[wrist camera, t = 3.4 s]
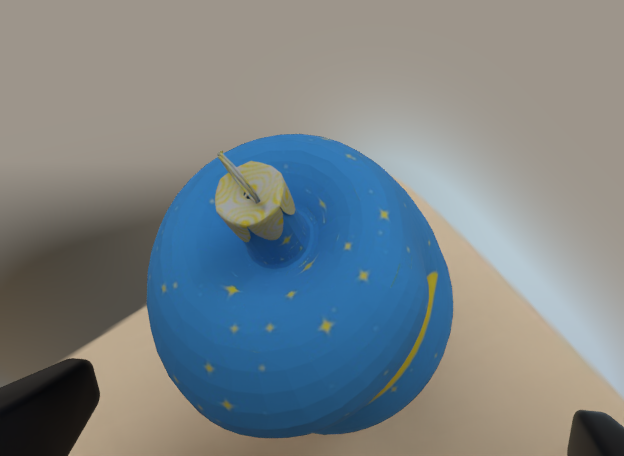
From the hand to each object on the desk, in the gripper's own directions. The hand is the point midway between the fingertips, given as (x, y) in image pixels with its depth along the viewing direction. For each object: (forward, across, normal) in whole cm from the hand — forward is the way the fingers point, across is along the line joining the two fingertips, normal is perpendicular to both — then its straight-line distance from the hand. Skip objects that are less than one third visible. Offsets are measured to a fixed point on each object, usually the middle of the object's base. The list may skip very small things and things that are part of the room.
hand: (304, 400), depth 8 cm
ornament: (+9, 0, +6) cm, 11 cm away
